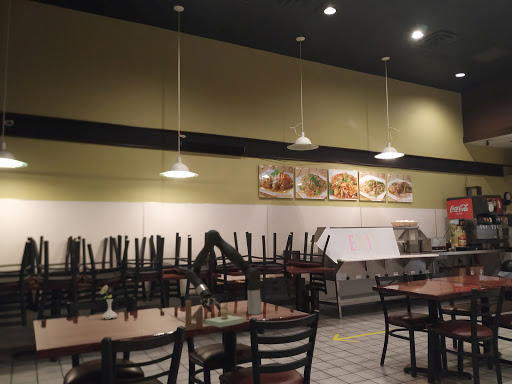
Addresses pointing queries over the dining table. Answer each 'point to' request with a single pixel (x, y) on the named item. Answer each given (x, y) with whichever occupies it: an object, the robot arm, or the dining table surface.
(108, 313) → the flower in vase
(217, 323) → the sage board
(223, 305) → the beech peg
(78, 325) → the dining table surface
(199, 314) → the brown wooden bracket
